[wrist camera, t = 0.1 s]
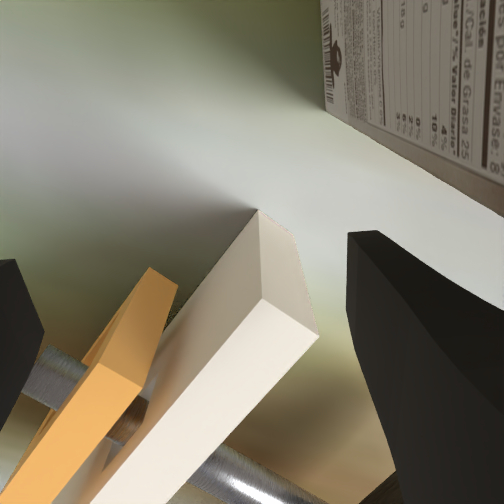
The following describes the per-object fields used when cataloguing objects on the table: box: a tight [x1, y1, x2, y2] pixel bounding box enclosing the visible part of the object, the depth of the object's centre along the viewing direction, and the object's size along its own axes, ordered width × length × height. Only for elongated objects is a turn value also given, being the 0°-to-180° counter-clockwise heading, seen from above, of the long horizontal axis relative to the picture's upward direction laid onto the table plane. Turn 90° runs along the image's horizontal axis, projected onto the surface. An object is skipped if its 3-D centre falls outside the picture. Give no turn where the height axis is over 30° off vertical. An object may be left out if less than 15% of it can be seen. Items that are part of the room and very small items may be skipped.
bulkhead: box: [51, 210, 319, 504], centre depth 19 cm, size 16×2×9 cm, turn 143°
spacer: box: [0, 267, 178, 504], centre depth 18 cm, size 7×2×7 cm, turn 143°
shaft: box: [21, 344, 404, 504], centre depth 18 cm, size 11×18×4 cm, turn 53°
